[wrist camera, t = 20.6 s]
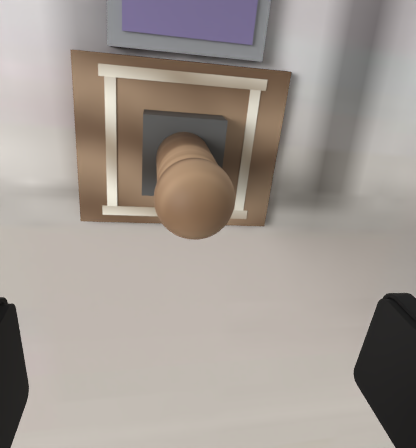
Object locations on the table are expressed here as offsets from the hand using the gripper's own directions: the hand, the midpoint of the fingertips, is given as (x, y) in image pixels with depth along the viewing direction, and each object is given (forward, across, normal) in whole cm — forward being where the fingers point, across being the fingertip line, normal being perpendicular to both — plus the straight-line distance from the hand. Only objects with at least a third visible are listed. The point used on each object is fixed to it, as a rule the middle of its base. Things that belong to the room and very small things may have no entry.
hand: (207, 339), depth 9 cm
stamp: (+22, -1, 0) cm, 22 cm away
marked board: (+22, -1, 0) cm, 22 cm away
